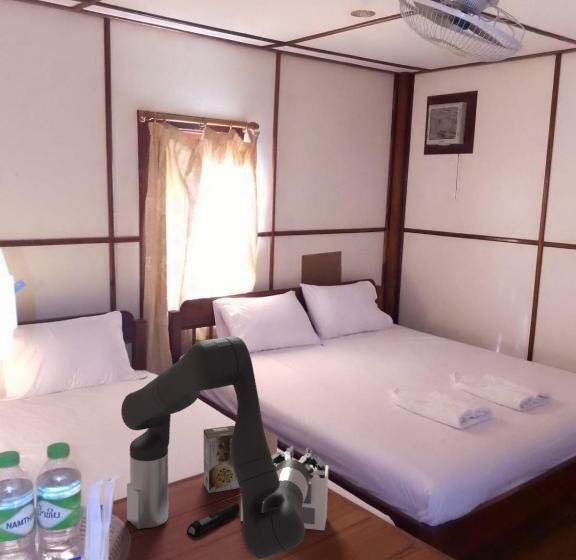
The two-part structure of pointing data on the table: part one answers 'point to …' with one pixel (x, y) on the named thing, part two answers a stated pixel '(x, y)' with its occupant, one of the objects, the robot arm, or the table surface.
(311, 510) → the white switch box
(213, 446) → the coffee box
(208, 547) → the table surface
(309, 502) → the outer rocker
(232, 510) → the electric trimmer
